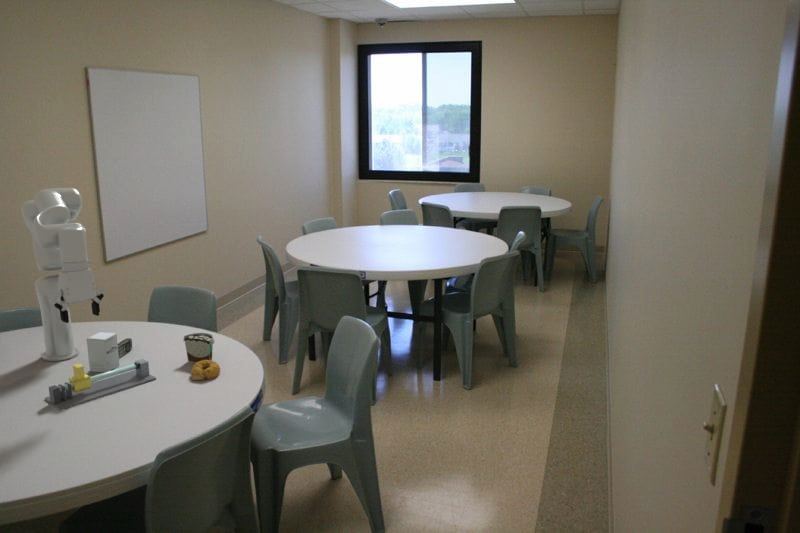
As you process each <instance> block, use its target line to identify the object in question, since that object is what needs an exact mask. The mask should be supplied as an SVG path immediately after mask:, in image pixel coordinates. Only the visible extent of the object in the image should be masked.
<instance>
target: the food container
mask: <svg viewBox="0 0 800 533" xmlns="http://www.w3.org/2000/svg"><path fill="white" fill-rule="evenodd" d="M183 342H184V345H185V350H186V358H187V362H189V363H193V362H196V363H197V362H199V361H202V360H211V361H213V348H214V347H213V345H214V344H215V338H214V336H213V335H212V334H210V333H207V332H193V333H189V334H186V335H183ZM196 363H195V364H196Z"/></svg>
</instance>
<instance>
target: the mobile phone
mask: <svg viewBox="0 0 800 533" xmlns="http://www.w3.org/2000/svg"><path fill="white" fill-rule="evenodd" d="M117 344H118V355H119V359H121V358H122V357H124V356H125V355H126V354H128V353H130V351H131V350H132V348H133V339H132V338H125V339H123V340H122V341H119V342H117Z"/></svg>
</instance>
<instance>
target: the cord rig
mask: <svg viewBox="0 0 800 533" xmlns="http://www.w3.org/2000/svg"><path fill="white" fill-rule="evenodd" d="M155 380H157V377H156V376H154V375H151V374H150V365H149V361H148V360H146V359H144V358H141V359H138V360H134V363H133V364H129V365H126V366H122V367H119V368H117V369H115V368H114V369H112V370H110V371H109V372H105V373H104V372H101V373H99V374H96V375H92V376H90V381H91V388H89V389H86V390H83V391H80V392H76V393H75V392H74V391H72V388H74V383H73V382H72V383H69V382H64V384H61V383H60V384H57V385H55V384H54V385H51V386H48V392H49V396H46V397H44V400H45V401H47V402H49V403H50V405H52V406H54V407H55V408H57V409H58V410H59V411H63V410H66V409H69V408H72V407H75V406H79V405H81V404H85V403H88V402H91V401H95V400H97V399H100V398H104V397H107V396H109V395H110V396H111V395H112V394H115V393H119V392H123V391H125V390H127V389H131V388H135V387H137V386H140V385H143V384H146V383H149V382H153V381H155Z"/></svg>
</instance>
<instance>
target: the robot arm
mask: <svg viewBox="0 0 800 533" xmlns="http://www.w3.org/2000/svg"><path fill="white" fill-rule="evenodd" d="M33 198H34V200H32V199H31V200H28V201H25V202H23V203H22V205H21V207H20V210H21V214H22V218H23V221H24V223H25V225H26V227H27V228H28V230H29V231H30V234H31V238H32V245H33V246H32V247H33V251H34V257H35V258H34V259H35V264H36V266H37V269H38V270H39V271H41V272H55V271H59V272H58V273H53V274H47V275H43V276H39V278H37V279H36V280H35V283H34V290H35V294H36V296H37V300H38V303H39V308H40V309H39V310H40V316H41V323H42V331H43V338H44V346H45V347H44V348H45V351H44V352H43V353H42V354H41V359H42V360H44V361H46V362H59V361H65V360H69V359H72V358H75V357H77V356H78V355H79V353H80V350H79V348H78V347H75V345H74V338H73V337H74V336H73V335H74V334H73V328H72V327H73V326H72V319H71V311H70V309H69V305H71V304H77V303H81V302H85V301H89V300H91V301H92V302H91V303H90V304H91V311H92V315H94V316H97V317H99V316H100V312H101V309H100V303H101V301H102V299H103V298H104V296H105V293H106V290H107V289H106V287H103V286H100V285H96V281H95V277H94V274H93V271H92V268H90V265H93V260H92V259H88V251H87V250H88V248H87V230H86V228H85V226H83V225H82V224H81V223H80V222H71V221H75V220H76V219H77V218H78V217H79V214H80V212H81V210H82V209H83V199H82V195H81V193H80V192H79V191H78V190H77V189H76V188H74V187H57V188H55V187H54V188H45V189H41V190H39V191H38V192H36V194H35V195H34V197H33ZM97 291H99V292H98V293H97Z"/></svg>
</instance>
